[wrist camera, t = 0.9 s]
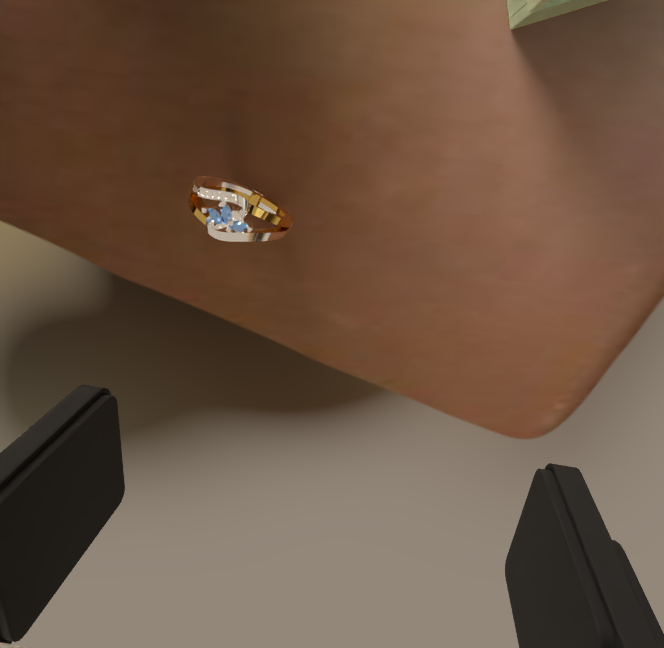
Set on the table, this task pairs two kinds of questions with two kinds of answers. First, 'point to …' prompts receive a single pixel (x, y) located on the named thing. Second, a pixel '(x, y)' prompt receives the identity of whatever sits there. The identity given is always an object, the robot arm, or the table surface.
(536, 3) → the chest lid
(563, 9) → the chest
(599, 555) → the robot arm
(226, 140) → the table surface
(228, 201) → the ring
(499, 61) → the table surface
